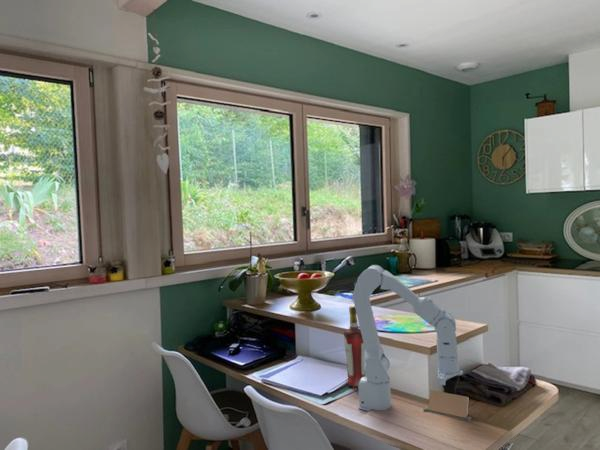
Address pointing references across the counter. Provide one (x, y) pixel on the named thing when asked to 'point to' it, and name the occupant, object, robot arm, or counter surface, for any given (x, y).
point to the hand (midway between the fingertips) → (450, 400)
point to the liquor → (354, 350)
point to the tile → (448, 404)
